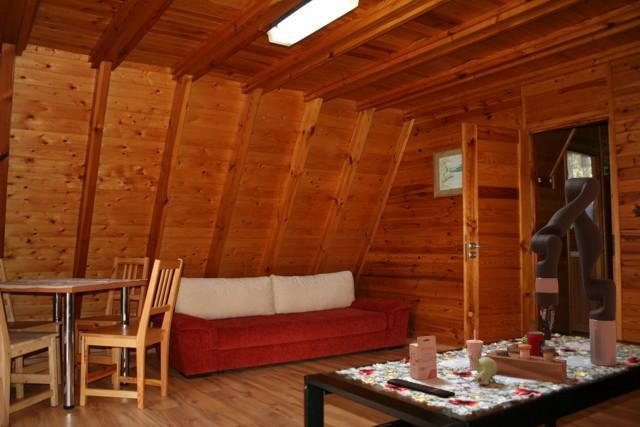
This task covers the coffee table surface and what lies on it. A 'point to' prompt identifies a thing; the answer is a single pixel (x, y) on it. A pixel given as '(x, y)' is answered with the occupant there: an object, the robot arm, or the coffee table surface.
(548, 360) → the plunger
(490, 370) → the frog
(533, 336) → the beverage can
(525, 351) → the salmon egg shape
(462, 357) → the coffee table surface
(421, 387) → the remote control
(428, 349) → the ink cartridge box
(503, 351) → the plunger
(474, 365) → the smoothie
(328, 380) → the coffee table surface
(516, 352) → the plant
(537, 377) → the oak block
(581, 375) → the coffee table surface
